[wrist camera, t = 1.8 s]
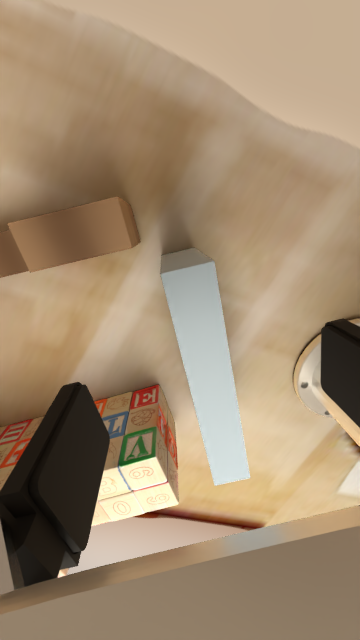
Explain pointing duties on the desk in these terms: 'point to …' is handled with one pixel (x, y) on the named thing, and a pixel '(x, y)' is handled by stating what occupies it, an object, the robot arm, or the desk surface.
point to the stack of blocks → (120, 455)
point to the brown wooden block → (67, 236)
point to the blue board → (206, 359)
